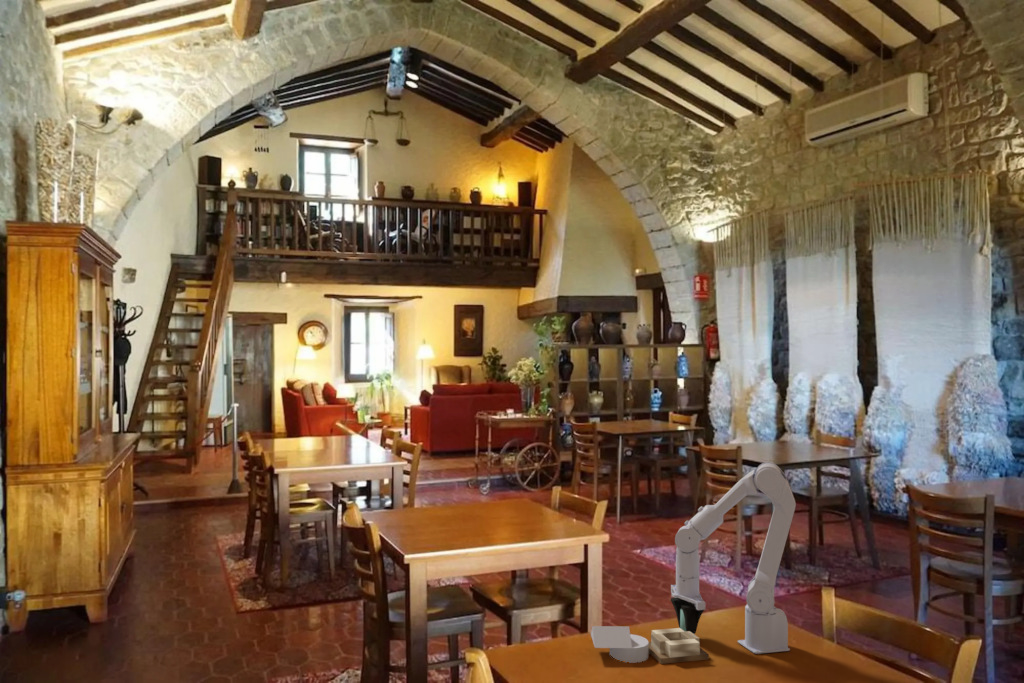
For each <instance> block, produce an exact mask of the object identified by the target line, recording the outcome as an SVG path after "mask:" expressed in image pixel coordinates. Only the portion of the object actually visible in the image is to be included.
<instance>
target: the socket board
mask: <svg viewBox="0 0 1024 683" xmlns="http://www.w3.org/2000/svg"><path fill="white" fill-rule="evenodd" d="M650 637H651V638H650V639H651V640H650V641H648V642H649V646H648V655H650V656H651V657H652V658H654V659H655V660H656V661H657V662H658V663H659V664H660V665H662V664H672V663H673V664H674V663H675V664H676V663H682V662H684V663H686V662H695V661H705V660H706V661H707V660H710V659H709V658H710V654H709V653H708V652H706V651H705V650H704V649H703V648H701V646H700V645H701V643H700V637H698V636H697V635H696V634H695V635H694V634H693V633H692V632H690V631H686V632H685V631H683V630H682V629H681V628H679V627H676V628H675V627H674V628H663V629H662V628H661V629H651V634H650Z"/></svg>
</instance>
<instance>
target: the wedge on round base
mask: <svg viewBox="0 0 1024 683" xmlns="http://www.w3.org/2000/svg"><path fill="white" fill-rule="evenodd" d="M590 637H591V639H592V644H593V646H594V648H595V649H609V656H610V655H611V656H612V657H613V658H615V659H617V660H620V661H619V662H621V661H625V662H624V663H627V662H629V664H631V663H632V664H635V663H637V662H638V663H642V661H643V662H646V661H647V660H648V659H649V653H648V646H649V642H650V641H649V640H648V639H647V638H646V637H644V636H641V635H638V634H632V633H631V631H630V625H629V626H625V625H624V626H623V625H621V626H620V625H619V626H617V625H616V626H615V625H608V626H607V625H605V626H604V625H592V627H591V630H590ZM611 656H610V657H611ZM612 657H611V658H612ZM613 658H612V659H613ZM615 659H614V660H615ZM617 660H616V661H617Z"/></svg>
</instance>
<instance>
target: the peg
mask: <svg viewBox="0 0 1024 683" xmlns="http://www.w3.org/2000/svg"><path fill="white" fill-rule="evenodd" d="M680 628H681V629H682V630H683V631H685V632H686V625H685V617H684V613H683V610H682V608H681V609H680ZM694 635H696V633H695V634H694Z"/></svg>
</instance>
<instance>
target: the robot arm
mask: <svg viewBox="0 0 1024 683" xmlns="http://www.w3.org/2000/svg"><path fill="white" fill-rule="evenodd" d="M759 491H761V492H762V493H763V494H764V495H765V496H767V498H768V499H769V501H770V502H771V504H772V505H773V507H774V508H773V512H772V515H771V518H770V522H769V526H768V528H767V529H768V530H767V534H766V536H765V541H764V544H763V548H762V551H761V555H760V559H759V562H758V566H757V568H756V572H755V574H754V577H753V578H752V579H751V580H750V581H749V582H748V585H747V593H746V605H745V606H744V639H738V640H737V643H738V644H739V645H741V646H743V647H744V648H746V649H747V651H748V650H749V651H750V652H751V653H753V654H754V655H759V654H760V655H761V654H769V653H779V652H790V650H791V648H790V647H788V646H789V640H788V638H789V628H788V627H789V626H788V625H789V623H788V617H787V616H786V613H785V612H784V611H783V610H782V609H781V608H777V607H776V606H775V585H776V582H777V574H778V572H779V569H780V568H779V567H780V564H781V561H782V557H783V553H784V551H785V546H786V542H787V539H788V536H789V531H790V529H791V524H792V520H793V518H794V514H795V511H796V505H797V504H796V499H795V497H794V493H793V492H792V489H791V486H790V483H789V481H788V478H787V476H786V474H785V473H784V472H783V470H782V469H781V468H780V467H779V465H777V464H776V463H774V462H771V461H768V462H767V461H766V462H763V463H760V464H759V465H758V466H757V467H756V470H755V469H753V470H751V471H749V473H747V474H746V475H744V476H743V477H742V478H741V479H739V480H738V482H736V483H735V484H734V485H733V486H732V487H731V488H730V489H729V490H728V491H727V492H726V493H725V494H724V495H723V496H722V497H721V498H720V499H719V500H718V501H717V502H716V503H715V504H706V505H704V506H702V505H701V506H700V507H699V508H698V509H697V513H696V514H695V515H694V516H693V517H691V518H690V519H689V520H688V519H687V520H686V521H685V522H684V525H683V526H681V527H680V528H678V531H677V532H676V534H675V537H674V544H675V546H676V550H675V552H676V555H675V584H670V593H671V598H670V602H671V604H672V607H673V608H674V611H675V615H676V620H677V624H678V628H680V609H681V608H682V610H683V613H684V617H685V625H686V631H690V632H692V633H693V634H695V635H696V633H697V628H698V625H699V622H700V619H701V617H702V614H703V613H704V612H705V610H706V601H704V599H703V598H702V595H701V593H700V557H699V545H700V543H701V541H703V540H706V539H707V538H708V537H709V536H711V534H712V533H714V532H716V530H717V529H718V528H719V527H720V526H721V525H723V524H724V515H725V514H726V513H728V512H729V511H730V510H731V509H732V508H733V507H735V506H736V505H737V504H738V503H739V502H741V500H742V499H744V498H745V497H746V496H748V495H757V494H759Z"/></svg>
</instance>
